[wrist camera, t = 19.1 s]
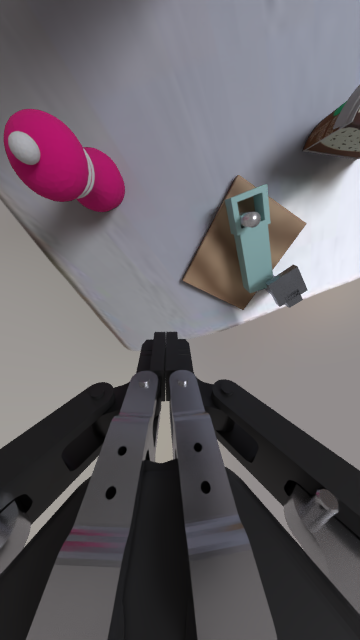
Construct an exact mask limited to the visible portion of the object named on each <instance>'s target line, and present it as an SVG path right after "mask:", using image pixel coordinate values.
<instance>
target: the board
mask: <svg viewBox="0 0 360 640" xmlns="http://www.w3.org/2000/svg"><path fill="white" fill-rule="evenodd" d="M254 188H256V187H255V186H254V185H252V184H251V183H249V182H248V181H247V180H245V179H244V178H242V177H241V176H240V175H237V176H236V178H235V180H234V181H233V183H232V185H231V187H230V189H229V191H228V193H227V195H226V197H225V199H224V201H223V203H222V204H221V206H220V208H219V210H218V212H217V214H216V216H215V218H214V220H213V222H212V224H211V226H210V228H209V229H208V231H207V233H206V235H205V237H204V239H203V241H202V243H201V245H200V247H199V249H198V251H197V252H196V254H195V256H194V258H193V260H192V262H191V264H190V266H189V268H188V270H187V272H186V274H185V276H184V277H183V281H184V282H186V283H188V284H191V285H193V286H195V287H197V288H199V289H201V290H203V291H205V292H207V293H209V294H211V295H213V296H215V297H217V298H219V299H221V300H224V301H226V302H228V303H230V304H232V305H234V306H236V307H238V308H240V309H242V310H244V308H245V307H246V306H247V304H248V303H249V301H250V300H251V299H252V297H253V296H254V295H255V293H256V292H257V291H256V292H253V293H249V292H248V291H247V290H246V289H245V288H244V287H243V281H242V276H241V271H240V265H239V260H238V254H237V249H236V243H235V238H234V235H233V234H231V230H230V225H229V220H228V215H227V209H226V204H225V200H226V199H229V198H231V197H234V196H236V195H239V194H241V193H244V192H246V191H249V190H251V189H254ZM268 200H269V211H270V222H271V223H270V224H268V231H269V242H270V252H271V262H272V270H273V269H274V267H275V266H276V265H277V263H278V262H279V260H280V259H281V258H282V256H283V255H284V254H285V252H286V251H287V250H288V248H289V247H290V245H291V244H292V243H293V241H294V240H295V239H296V237H297V236H298V234H299V233H300V232H301V230H302V229H303V228H304V226H305V225H306V224H307V223H305V222H304V221H302V220H301V219H300V218H298V217H297V216H295V215H294V214H293V213H291V212H290V211H288V210H287V209H286V208H284V207H283V206H281V205H280V204H279V203H277V202H276V201H274V200H273V199H272V198H270V197H269V196H268ZM237 204H238V211H239V213H244V212H255V207H254V199H253V196H251V197H249V198H246V199H244V200H241V201H239V202H237Z"/></svg>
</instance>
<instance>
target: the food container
mask: <svg viewBox="0 0 360 640" xmlns="http://www.w3.org/2000/svg"><path fill="white" fill-rule="evenodd" d="M303 152H310V153H317V154H323V155H330V156H336V157H343V158H350V159H356V160H357V159H360V85H359V86H358V87H357V89H356V90H355V91H354V92H353V93H352V95H351V96H350V97H349V99H348V100H347V101H346V102H345V103H344V104H342V105H341V106H340V107H339V108H337V109H336V110H335V111H333V112H332V113H331V114H330V115H328V116H327V117H326V118H325V119H323V120H322V121H321V122H320V123H319V124H318V125H317V126H316V127H315V128H314V130H313V131H312V132H311V134H310V136H309V137H308V139H307V141H306V143H305V146H304V148H303Z"/></svg>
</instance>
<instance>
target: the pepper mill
mask: <svg viewBox="0 0 360 640" xmlns="http://www.w3.org/2000/svg"><path fill="white" fill-rule="evenodd" d="M4 146H5V151H6V154H7V157H8V159H9V161H10V164H11V166H12V168H13V169H14V171H15V172H16V174H17V175H18V176H19V178H20V179H21V180H22V181H23V182H24V183H25V184H26V185H27V186H28V187H29V188H30V189H31V190H33V191H34V192H36V193H37V194H39V195H41V196H43V197H45V198H48V199H50V200H53V201H59V202H65V201H72V200H74V199H77V200H78V201H79V202H80V203H81V204H82V205H83V206H85V207H86V208H88V209H91V210H94V211H97V212H106V211H109V210H111V209H113V208H116V207H117V206H119V205H120V204H121V202H122V200H123V198H124V194H125V186H124V181H123V179H122V176H121V175H120V172H119V170H118V168H117V166H116V165H115V163H114V162H113V161H112V160H111V159H110V157H108V156H107V155H106V154H104V153H103V152H101V151H99V150H97V149H95V148H89V147H82V145H81V144H80V142H79V141H78V139H77V138H76V136H75V135H74V133H73V132H72V131H71V130H70V129H69V128H68V127H67V126H66V125H65V124H64V123H63V122H62V121H60V120H59V119H57V118H56V117H54V116H52V115H50V114H48V113H46V112H43V111H40V110H35V109H24V110H20V111H18V112H16V113H15V114H13V115H12V116H11V117H10V118H9V120H8V122H7V123H6V125H5V130H4Z"/></svg>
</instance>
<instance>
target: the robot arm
mask: <svg viewBox="0 0 360 640" xmlns="http://www.w3.org/2000/svg"><path fill="white" fill-rule="evenodd" d="M165 384H166V401H170V423H171V435H172V447H173V460H171V461H168V462H165V463H156V462H155V451H156V443H157V435H158V428H159V420H160V411H161V401H165ZM217 439H218V440H219V441H220V442H221V443H222V444H223V446H225V447H226V448H227V449H228V451H229V452H230V453H231V454H232V455H233V456H234V457H235V458H237V460H238V461H239V462H240V463H241V464H242V465H243V466H244V467H245V468H246V469H247V470H248V471H249V472H250V473H251V474H252V475H253V476H254V477H255V478H256V479H257V480H258V481H259V482H260V483H261V484H262V485H263V486H264V487H265V488H266V489H267V490H268V491H269V492H270V493H271V494H272V495H273V496H274V497H275V498H276V499H277V500H278V501H279V502H280V503H281V504H282V505H283V506H284V514H285V519H286V522H287V524H288V526H289V528H290V530H291V531H292V534H293V535H294V536H295V538H296V539H297V540H298V542H299V543H300V544H301V546H302V547H303V549H304V550H303V549H302V548H301V547H300V546H299V544H298V543H297V542H296V541H295V540H294V539H293V538H292V537H291V536H290V534H289V533H288V532H287V531H286V530H285V529H284V527H283V526H282V525H281V524H280V523H279V522H278V520H277V519H276V518H275V517H274V516H273V515H272V514H271V512H270V511H269V510H268V509H267V508H266V507H265V506H264V504H262V502H261V501H260V500H259V499H258V498H257V497H256V495H255V494H254V493H253V492H252V491H251V490H250V489H249V488H248V486H247V485H246V484H245V483H244V482H243V481H242V480H241V478H239V477H238V476H237V475H236V474H235V473H234V472H233V471H231V470H230V469H228V468H227V467H225V466H224V463H223V460H222V456H221V453H220V449H219V445H218V442H217ZM98 456H99V457H98ZM96 457H98V460H97V462H96V465H95V468H94V471H93V473H92V476H91V477H89V478H88V479H87V480H86V481H85V482H83V483H82V484H81V485H80V486H79V487H78V488H77V489H76V490H75V491H74V492H73V493H72V495H71V496H70V497H69V498H68V499H67V500H66V501H65V502H64V504H63V505H62V506H61V507H60V508H59V509H58V510H57V511H56V512H55V514H54V515H53V516H52V517H51V518H50V519H49V520H48V521H47V523H46V524H45V525H44V526H43V527H42V528H41V529H40V530H39V532H38V533H37V534H36V535H35V536H34V537H33V538H32V539H31V541H30V542H29V543H28V544H27V545H26V546H25V547H24V545H25V543H26V541H27V539H28V536H29V532H30V526H31V524H32V523H33V522H34V521H35V520H36V519H37V518H38V517H39V516H40V515H41V514H42V513H43V512H44V511H45V510H46V509H47V508H48V507H49V506H50V505H51V504H52V503H53V502H54V501H55V499H57V498H58V497H59V496H60V495H61V494H62V492H64V491H65V489H66V488H67V487H68V486H69V485H70V484H71V483H72V482H73V481H74V480H75V479H76V478H77V477H78V476H79V475H80V474H81V473H82V472H83V471H84V470H85V469H86V468H87V467H88V466H89V465H90V464H91V462H93V461H94V460H95V459H96ZM0 640H360V471H359V470H358V469H356V468H355V467H354V466H352V465H351V464H349V463H348V462H346V461H345V460H344V459H342V458H341V457H339V456H338V455H336V454H335V453H334V452H332V451H331V450H329V449H328V448H326V447H325V446H324V445H322V444H321V443H319V442H318V441H317V440H315V439H314V438H312V437H311V436H310V435H308V434H307V433H305V432H304V431H302V430H301V429H299V428H298V427H297V426H295V425H294V424H292V423H291V422H290V421H288V420H287V419H285V418H284V417H283V416H281V415H280V414H278V413H277V412H276V411H274V410H273V409H271V408H270V407H268V406H267V405H266V404H264V403H263V402H261V401H260V400H258V399H257V398H256V397H254V396H253V395H251V394H250V393H248V392H247V391H246V390H244V389H243V388H241V387H240V386H238V385H237V384H236V383H234V382H232V381H230V380H218V381H217V382H215V383H214V385H213V384H209V383H204V382H202V381H200V380H199V379H197V378H196V376H195V375H194V372H193V366H192V360H191V354H190V347H189V343H188V342H187V341H186V340H185V339H178V337H177V332H155V333H154V340H146V341H145V342H144V343H143V344H142V348H141V353H140V358H139V363H138V367H137V372H136V374H135V375H134V376H133V377H132V378H131V381H130V382H129V383H127V384H125V385H122V386H118V387H115V388H113V387H112V385H111V384H109V383H105V382H101V383H96V384H94V385H92V386H90V387H89V388H87V389H86V390H84V391H83V392H81V393H80V394H78V395H77V396H76V397H74V398H73V399H71V400H70V401H69V402H67V403H66V404H64V405H63V406H61V407H60V408H58V409H57V410H56V411H54V412H53V413H51V414H50V415H49V416H47V417H46V418H44V419H43V420H41V421H40V422H38V423H37V424H36V425H34V426H33V427H31V428H30V429H28V430H27V431H26V432H24V433H23V434H21V435H20V436H18V437H17V438H16V439H14V440H13V441H11V442H10V443H8V444H7V445H6V446H4V447H3V448H1V449H0Z"/></svg>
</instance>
